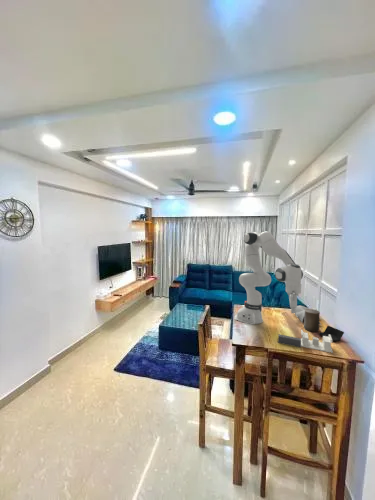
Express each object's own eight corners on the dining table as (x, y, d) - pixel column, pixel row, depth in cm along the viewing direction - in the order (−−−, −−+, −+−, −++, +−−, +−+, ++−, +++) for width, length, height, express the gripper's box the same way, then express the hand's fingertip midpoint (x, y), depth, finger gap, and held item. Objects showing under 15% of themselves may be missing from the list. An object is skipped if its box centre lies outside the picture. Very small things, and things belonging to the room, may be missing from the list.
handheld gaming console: (319, 337, 151) (318, 333, 151) (328, 329, 155) (327, 325, 154) (335, 344, 142) (334, 340, 141) (345, 336, 145) (344, 331, 144)
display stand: (300, 346, 136) (301, 335, 135) (299, 339, 145) (300, 328, 144) (332, 353, 129) (333, 341, 128) (329, 345, 138) (330, 333, 137)
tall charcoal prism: (277, 343, 140) (278, 336, 139) (278, 341, 142) (278, 334, 142) (300, 348, 134) (301, 340, 134) (300, 346, 137) (300, 338, 137)
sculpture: (289, 311, 196) (290, 301, 196) (312, 313, 192) (313, 302, 191) (297, 323, 172) (298, 311, 171) (324, 325, 168) (324, 313, 167)
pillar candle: (320, 332, 155) (322, 312, 154) (306, 331, 157) (307, 311, 156) (315, 326, 165) (316, 307, 164) (301, 325, 167) (302, 306, 166)
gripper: (299, 293, 127) (299, 316, 128) (297, 286, 146) (297, 306, 147) (288, 292, 130) (287, 315, 131) (287, 285, 148) (286, 305, 149)
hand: (292, 310), depth 139 cm, fingers open, 8 cm apart
